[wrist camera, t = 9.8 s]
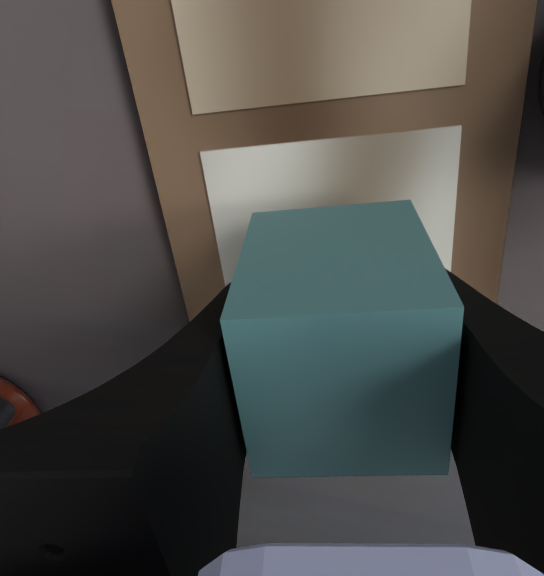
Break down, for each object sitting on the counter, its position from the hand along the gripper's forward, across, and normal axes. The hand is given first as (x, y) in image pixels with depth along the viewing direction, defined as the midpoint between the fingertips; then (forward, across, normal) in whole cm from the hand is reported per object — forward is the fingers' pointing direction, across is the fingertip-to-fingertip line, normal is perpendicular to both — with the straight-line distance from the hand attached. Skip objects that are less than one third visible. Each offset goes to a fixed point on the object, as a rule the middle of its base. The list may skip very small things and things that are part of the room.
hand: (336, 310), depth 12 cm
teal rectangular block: (+2, 0, 0) cm, 2 cm away
